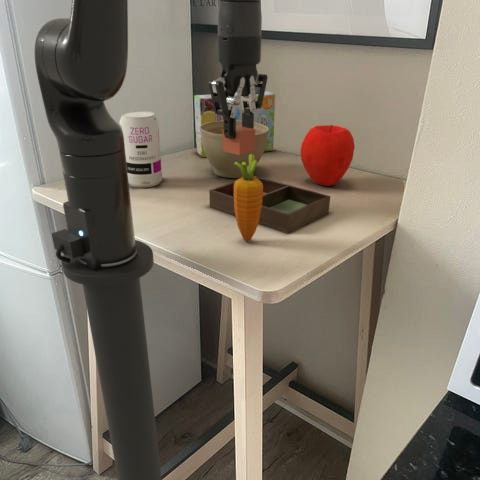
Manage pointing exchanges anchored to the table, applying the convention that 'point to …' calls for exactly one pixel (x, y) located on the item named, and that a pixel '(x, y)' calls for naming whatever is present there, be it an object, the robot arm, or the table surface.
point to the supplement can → (142, 148)
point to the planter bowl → (226, 160)
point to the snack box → (261, 116)
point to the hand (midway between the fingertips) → (238, 135)
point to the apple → (327, 153)
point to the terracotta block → (240, 141)
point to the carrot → (247, 199)
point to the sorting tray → (277, 204)
